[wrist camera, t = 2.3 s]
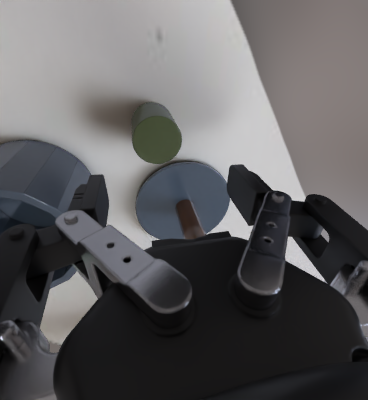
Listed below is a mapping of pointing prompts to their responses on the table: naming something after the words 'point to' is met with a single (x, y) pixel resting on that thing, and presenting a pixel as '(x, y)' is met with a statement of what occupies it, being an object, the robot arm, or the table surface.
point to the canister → (38, 187)
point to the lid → (182, 201)
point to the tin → (155, 133)
